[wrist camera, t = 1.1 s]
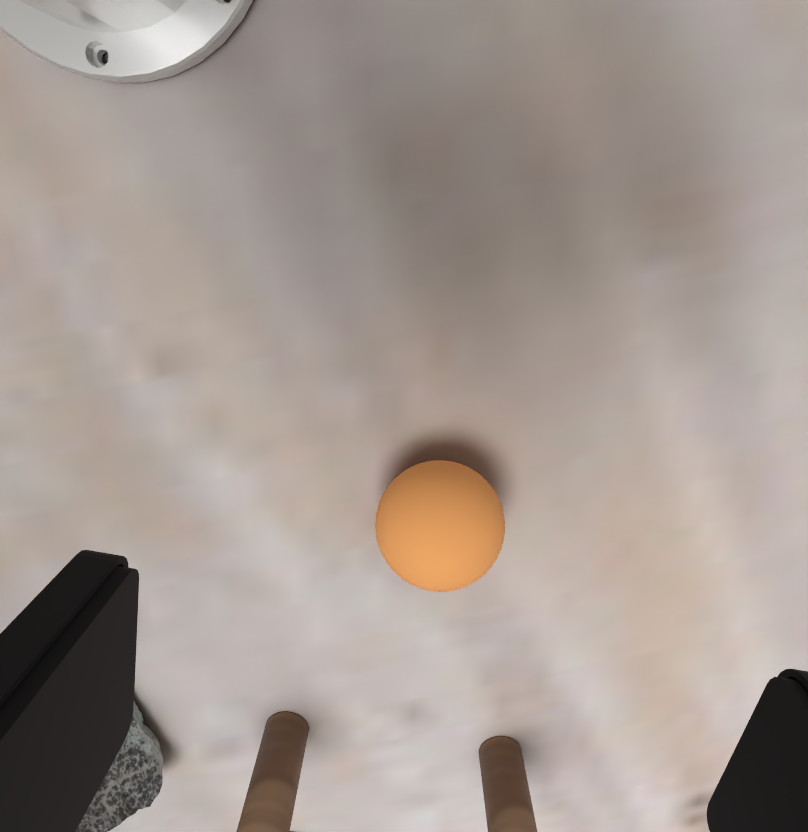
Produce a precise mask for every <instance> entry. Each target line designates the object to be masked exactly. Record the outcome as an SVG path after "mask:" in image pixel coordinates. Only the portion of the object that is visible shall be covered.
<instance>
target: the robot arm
mask: <svg viewBox="0 0 808 832" xmlns="http://www.w3.org/2000/svg"><path fill="white" fill-rule="evenodd" d="M252 1H253V0H232V1H231V2H230V3H226V2H225V1H224V0H0V29H1V30H2V31H4V32H5V33H6V34H7V35H9V36H10V37H11V38H13V39H14V40H15V41H17V42H18V43H19V44H21V45H22V46H23V47H24V48H26V49H27V50H28V51H30V52H32V53H33V54H35V55H37V56H39V57H41V58H43V59H45V60H47V61H49V62H51V63H53V64H54V65H56V66H58V67H60V68H63V69H66V70H69V71H72V72H74V73H77V74H80V75H83V76H86V77H90V78H95V79H100V80H105V81H110V82H115V83H133V82H149V81H153V80H158V79H162V78H166V77H170V76H174V75H176V74H178V73H180V72H182V71H184V70H186V69H188V68H190V67H192V66H194V65H196V64H198V63H200V62H202V61H203V60H204V59H205V58H206V57H208V56H209V55H210V54H211V53H213V52H214V51H215V50H216V49H218V48H219V47H220V46H221V45H222V44H224V42H225V41H226V40H227V39H228V37H229V36H230V35H231V34H232V32H233V31H234V30H235V29H236V27H237V26H238V25H239V24H240V22H241V21H242V20H243V19H244V17H245V15H246V13H247V11H248V9H249V7H250V5H251V3H252ZM105 52H108V56H109V57H108V62H107V64H106V65H105V64H104V63H103V60H102V57H103V54H104V53H105ZM138 589H139V573H138V570H136V569H132V568H128V561H127V559H126V558H125V557H124V556H119V555H113V554H107V553H101V552H95V551H90V550H83V551H81V552H79V553H78V554H77V555H76V556H75V557H74V558H73V559H72V560H71V561H70V562H69V563H68V564H67V565H66V566H65V567H64V568H63V569H62V570H61V571H60V572H59V573H58V574H57V576H56V577H55V578H54V579H53V580H52V581H51V582H50V583H49V584H48V585H47V586H46V587H45V588H44V589H43V590H42V591H41V592H40V593H39V594H38V595H37V596H36V597H35V598H34V599H33V600H32V602H31V603H30V604H29V605H28V606H27V607H26V608H25V609H24V610H23V611H22V612H21V613H20V614H19V615H18V616H17V617H16V618H15V619H14V620H13V621H12V622H11V623H10V624H9V625H8V627H7V628H6V629H5V630H4V631H3V632H2V633H1V634H0V832H76V830H77V828H78V826H79V824H80V822H81V820H82V819H83V817H84V815H85V813H86V811H87V809H88V808H89V806H90V804H91V802H92V800H93V798H94V797H95V795H96V793H97V791H98V789H99V787H100V785H101V784H102V782H103V780H104V778H105V776H106V774H107V773H108V771H109V769H110V767H111V765H112V763H113V761H114V760H115V758H116V756H117V754H118V752H119V750H120V749H121V747H122V745H123V743H124V741H125V739H126V737H127V734H128V732H129V729H130V726H131V722H132V717H133V708H134V684H135V661H136V637H137V613H138ZM707 822H708V827H709V830H710V832H808V672H807V671H801V670H795V669H786V670H784V671H782V672H781V673H780V674H779V675H778V677H774V678H772V679H770V681H769V682H768V683H767V685H766V687H765V689H764V691H763V693H762V695H761V697H760V700H759V702H758V704H757V706H756V708H755V710H754V712H753V714H752V716H751V718H750V720H749V722H748V724H747V726H746V728H745V730H744V732H743V734H742V736H741V738H740V740H739V742H738V744H737V746H736V748H735V750H734V753H733V755H732V757H731V759H730V761H729V763H728V765H727V767H726V769H725V771H724V773H723V775H722V777H721V779H720V781H719V783H718V785H717V787H716V789H715V791H714V793H713V795H712V797H711V799H710V801H709V804H708V807H707Z"/></svg>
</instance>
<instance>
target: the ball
mask: <svg viewBox="0 0 808 832" xmlns="http://www.w3.org/2000/svg"><path fill="white" fill-rule="evenodd" d="M375 527H376V537H377V541H378V545H379V548H380V551H381V553H382V555H383V557H384V558H385V560H386V562H387V564H388V565H389V566H390V567H391V569H392V570H393V571H394V572H395V573H396V574H397V575H398V576H399V577H401V578H402V579H403V580H405V581H406V582H408V583H410V584H411V585H414V586H416V587H419V588H422V589H425V590H429V591H438V592H443V591H453V590H457V589H461V588H463V587H466V586H468V585H470V584H472V583H473V582H475V581H477V580H478V579H479V578H481V577H482V576H483V575H484V574H485V573H486V572H487V571H488V570H489V569H490V568H491V566H492V565H493V564H494V562H495V561H496V559H497V557H498V555H499V553H500V550H501V547H502V544H503V540H504V533H505V520H504V514H503V509H502V506H501V503H500V501H499V498H498V496H497V494H496V492H495V491H494V489H493V488H492V486H491V485H490V484H489V483H488V482H487V481H486V480H485V479H484V478H483V477H482V476H481V475H480V474H479V473H477V472H476V471H474V470H472V469H471V468H469V467H467V466H465V465H463V464H459V463H456V462H452V461H444V460H435V461H427V462H423V463H420V464H417V465H414V466H412V467H410V468H408V469H407V470H405V471H403V472H402V473H401V474H400V475H398V476H397V477H396V478H395V479H394V480H393V481H392V482H391V483H390V485H389V486H388V487H387V489H386V490H385V492H384V494H383V496H382V498H381V500H380V503H379V505H378V509H377V514H376V523H375Z"/></svg>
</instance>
